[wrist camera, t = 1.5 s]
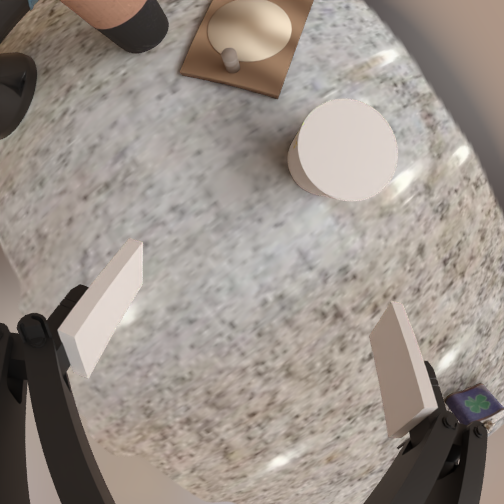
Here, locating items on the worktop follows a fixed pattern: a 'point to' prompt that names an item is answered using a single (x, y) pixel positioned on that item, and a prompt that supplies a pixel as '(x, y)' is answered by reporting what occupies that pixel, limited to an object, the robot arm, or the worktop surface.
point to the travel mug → (125, 21)
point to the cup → (343, 151)
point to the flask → (475, 406)
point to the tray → (247, 43)
